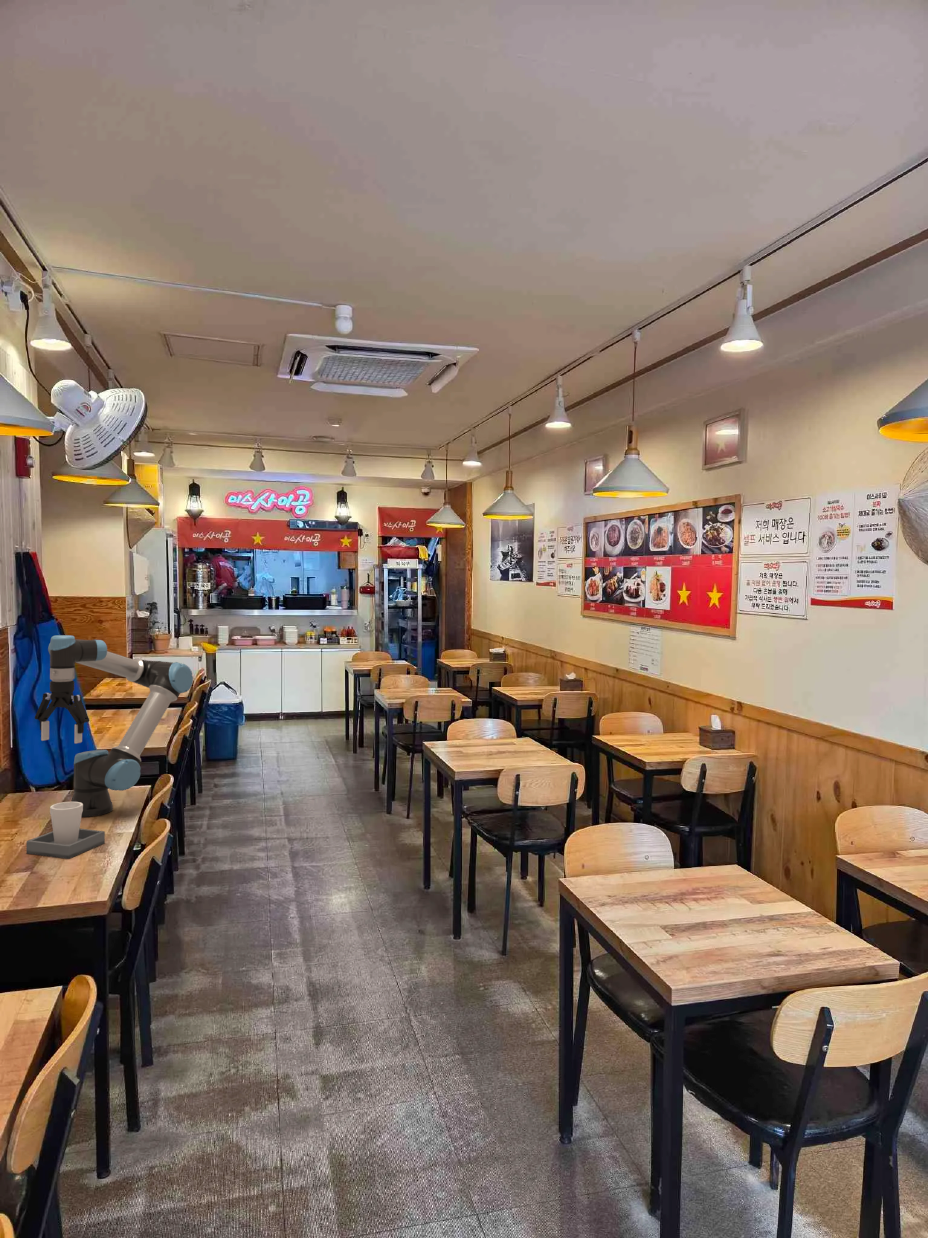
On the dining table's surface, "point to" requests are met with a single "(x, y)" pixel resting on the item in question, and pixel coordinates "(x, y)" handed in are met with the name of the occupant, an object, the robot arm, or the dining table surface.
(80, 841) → the tray
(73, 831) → the foam cup
